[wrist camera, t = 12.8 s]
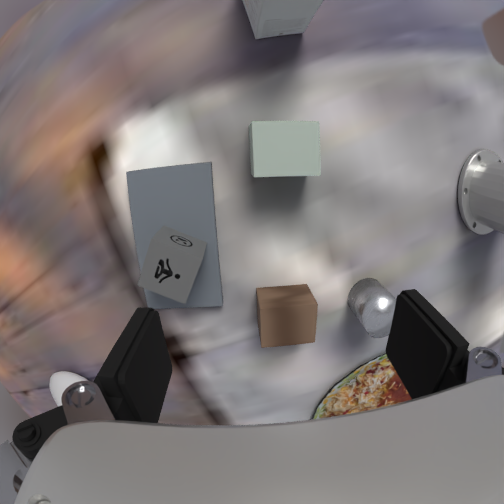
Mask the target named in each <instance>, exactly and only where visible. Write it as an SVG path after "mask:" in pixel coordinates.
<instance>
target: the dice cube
mask: <svg viewBox="0 0 504 504" xmlns="http://www.w3.org/2000/svg"><path fill="white" fill-rule="evenodd" d="M206 245H207V242H205V241H202V240H200V239H197V238H195V237H192V236H189V235H187V234H184V233H182V232H179V231H177V230H174V229H172V228H169V227H167V226H164V225H163V226H162V228H161V229H160V230H159V231H158V232H157V233H156V234H155V235H154V236H153V237H152V239H151V241H150V244H149V248H148V251H147V254H146V257H145V261H144V264H143V267H142V271H141V274H140V278H139V281H138V286H140V287H143V288H145V289H147V290H150V291H152V292H155V293H157V294H160V295H163V296H165V297H168V298H170V299H173V300H176V301H178V302H181V303H184V304H185V303H186V301H187V298H188V296H189V293H190V290H191V288H192V285H193V283H194V280H195V277H196V275H197V272H198V270H199V267H200V265H201V262H202V260H203V256H204V252H205V249H206Z"/></svg>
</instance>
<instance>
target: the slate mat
mask: <svg viewBox="0 0 504 504" xmlns="http://www.w3.org/2000/svg"><path fill="white" fill-rule="evenodd" d="M126 174H127V184H128V193H129V201H130V209H131V217H132V224H133V231H134V237H135V243H136V249H137V255H138V261H139V266H140V271H142V267H143V264H144V261H145V257H146V254H147V251H148V248H149V244H150V241H151V239H152V237H153V236H154V235H155V234H156V233H157V232H158V231H159V230H160V229H161V228H162V226H163V225H164V226H167V227H169V228H172V229H174V230H177V231H179V232H182V233H184V234H187V235H189V236H192V237H195V238H197V239H200V240H202V241H205V242H207V245H206V249H205V252H204V256H203V260H202V262H201V265H200V267H199V270H198V272H197V275H196V277H195V280H194V283H193V285H192V288H191V290H190V293H189V296H188V298H187V301H186V303H185V304H184V303H181V302H178V301H176V300H173V299H170V298H168V297H165V296H163V295H160V294H157V293H155V292H152V291H150V290H147V289H145V288H144V291H145V296H146V300H147V305H148V308H153V309H166V308H192V307H213V306H223V296H222V286H221V276H220V265H219V254H218V243H217V231H216V219H215V206H214V192H213V178H212V162H207V163H196V164H185V165H176V166H167V167H158V168H150V169H143V170H136V171H129V172H126Z"/></svg>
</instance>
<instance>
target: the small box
mask: <svg viewBox="0 0 504 504" xmlns="http://www.w3.org/2000/svg"><path fill="white" fill-rule="evenodd" d="M242 1H243V4H244V6H245V9H246V12H247V15H248V18H249V21H250V24H251V27H252V30H253V33H254V36H255V39H260V38H267V37H273V36H281V35H289V34H298V33H304V32H305V30H306V28H307V27H308V25H309V23H310V22H311V20H312V18H313V17H314V15H315V13H316V12H317V10H318V8H319V7H320V5H321V4H322V2H323V1H324V0H242Z"/></svg>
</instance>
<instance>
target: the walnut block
mask: <svg viewBox="0 0 504 504" xmlns="http://www.w3.org/2000/svg"><path fill="white" fill-rule="evenodd" d="M256 291H257V314H258V328H259V334H260V341H261V347H262V348H264V347H276V346H286V345H296V344H304V343H313V342H315V333H316V320H317V306H318V304H317V302H316V300H315V298H314V296H313V294H312V293H311V291H310V289H309V287H308V285H307V284H302V285H290V286H277V287H264V288H256Z"/></svg>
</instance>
